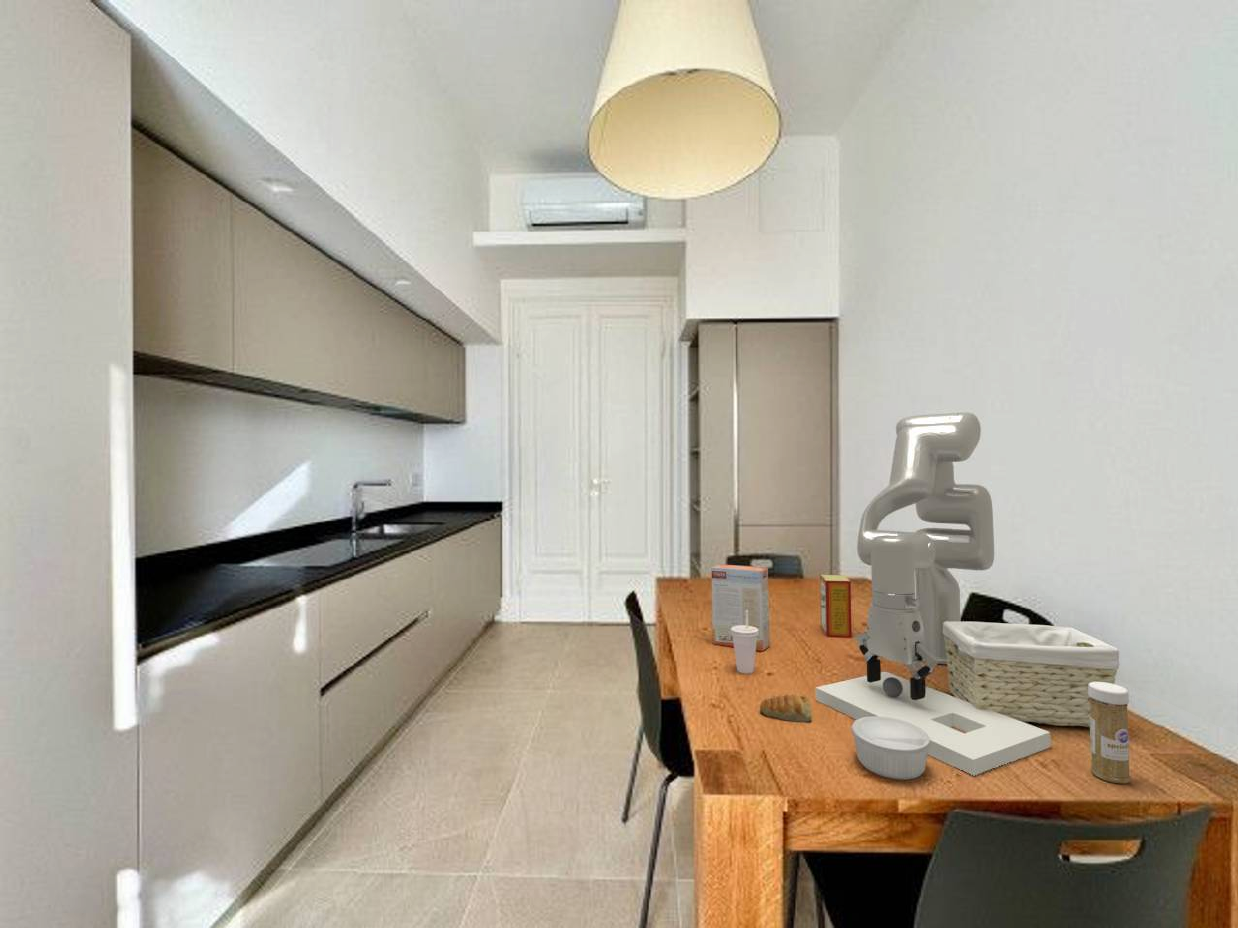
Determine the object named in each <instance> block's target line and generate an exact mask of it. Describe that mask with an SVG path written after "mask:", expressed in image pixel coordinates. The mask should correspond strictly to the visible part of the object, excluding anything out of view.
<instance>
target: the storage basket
mask: <svg viewBox="0 0 1238 928" xmlns="http://www.w3.org/2000/svg"><path fill="white" fill-rule="evenodd" d="M943 634H944V635H945V636H944V640H945V643H946V646H945V648H946V653H947V663H948V665H947V671H948V672H947V673H948V675H947V676H948V684H949V685H948V688H949V691H950V693H951V695H953V697H956V698H959V699H961V700H964V701H967V702H969V703H972V704H973V705H974V706H975V708H977V709H985V710H991V711H994V712H997V713H999V714H1002V715H1005V716H1008V717H1010V718H1013V719H1016V720H1018V721H1021V722H1024V723H1030V722H1031V723H1037V724H1046V725H1049V726H1059V727H1060V726H1061V727H1063V726H1065V727H1066V726H1071V727H1075V726H1078V727H1079V726H1080V727H1085V728H1090V699H1089V697H1090V696H1089V695H1088V685H1089V683H1091V682H1106V683H1111V684H1115V683H1116V675H1117V672H1118V669H1119V668H1120V651H1119V649H1118V648H1117V647H1115V646H1114V645H1113V646H1112V645H1110V644H1108V643H1106V642H1104V641H1102V640H1100V639H1098V638H1096V637H1094V636H1091V635H1089V634H1086V633H1085V632H1081V631H1080V630H1078V629H1076V628H1073V627H1070V626H1069V627H1064V626H1063V627H1062V626H1054V625H1045V624H1031V623H1030V624H1029V623H1028V624H1027V623H1007V622H1006V623H1002V622H1001V623H1000V622H985V621H967V620H966V621H960V622H956V621H953V622H949V621H946V622H944V623H943Z"/></svg>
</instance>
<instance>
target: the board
mask: <svg viewBox="0 0 1238 928" xmlns="http://www.w3.org/2000/svg"><path fill="white" fill-rule="evenodd" d="M889 677H893V678H896V679H898V680H899V681H900V682H901V684H902V686H903V691H902V693H901V694H900V695H899V696H897V697H892V696H889V695H888V694H886V693H885V691H884V689H883V682H884V680H885V679H887V678H889ZM814 689H815V690H814V691H815V695H814V696H815V701H817V702H819V703H821V704H823V705H825V706H827V707H830V708H831V709H833V710H836V712H837V711H838V712H839V713H842V714H844V715H846V716H848V717H850V718H852V719H854V720H855V721H856V720H858V719H860V718H863V717H874V716H877V717H889V718H895V719H899V720H902V721H906V722H908V723H911V724H913V725H915V726H917V727H919V728H921V729H922V730H923V731H925V732H926V733H927V735H928V736H929V738H930V747H929V749H928V754H927V756H930V757H933V758H935V759H937V760H939V761H941V762H943V763H945V764H947V765H949V766H951V767H953V768H955V767H956V768H955V769H957V768H958V769H957V770H959V769H960V770H959V771H961V770H963V771H965V772H967V773H969V774H971V775H970V776H972V775H973V776H972V777H975V775H976V776H978V774H979V775H981V774H983V773H982V772H984V771H987V770H989V771H991V770H990V769H992V768H995V767H997V768H1000V767H1002V766H1001V765H1003V766H1005V765H1008V764H1010V763H1009V762H1011V763H1013V762H1015V761H1018V759H1019V760H1021V759H1024V758H1027V757H1028V756H1029V757H1030V756H1032V755H1033V754H1034V755H1035V754H1037V753H1039V752H1042V751H1045V750H1048V749H1050V748H1051V745H1052V744H1051V731H1048V730H1046V729H1043V728H1040V727H1037V726H1034V725H1032V724H1029V723H1028V722H1021V721H1018V720H1016V719H1013V718H1010V717H1008V716H1005V715H1002V714H999V713H997V712H994V711H991V710H985V709H977V708H975V706H974V705H973V704H972V703H969V702H967V701H964V700H961V699H959V698H956V697H955V696H954V695H953V696H952V695H950V694H947V693H944V692H942V691H940V690H936V689H934V688H931V687H929V686H926V693H925V697H924V698H922V699H918V700H912V699H911V697H910V679H907V678H904V677H901V676H898V675H895V674H893V673H890V672H888V671H881V680H879V681H875V682H871V683H870V682H868V681H867V675H864V676H860V677H859V676H858V677H856V678H851V679H847V680H842V681H838V682H833V683H828V684H823V685H821V686H816V687H814ZM956 729H958V730H956ZM959 730H960V731H959ZM961 731H963V732H964V733H963V732H961ZM1007 763H1008V764H1007ZM1004 764H1005V765H1004ZM999 766H1000V767H999ZM995 769H996V768H995ZM992 770H993V769H992ZM963 771H962V772H963ZM965 772H964V773H965ZM987 772H988V771H987ZM967 773H966V774H967ZM980 773H981V774H980ZM984 773H985V772H984ZM969 774H968V775H969Z"/></svg>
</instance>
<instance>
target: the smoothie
mask: <svg viewBox="0 0 1238 928" xmlns="http://www.w3.org/2000/svg"><path fill="white" fill-rule="evenodd" d="M731 634H732V636H733V643H734V647H733V649H734V656H735V657H734V658H735V662H736V663H735V664H736V672H738V673H740V674H752V673H754V671H755V670H754V669H755V660H756V659H755V658H756V643H757V635H758V634H759V633H758V629H757V628H756V627H753V626H748V610H746V625H739V626H733V627H732V628H731Z"/></svg>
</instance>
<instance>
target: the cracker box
mask: <svg viewBox="0 0 1238 928" xmlns="http://www.w3.org/2000/svg"><path fill="white" fill-rule="evenodd" d="M768 569H769V568H768V567H763V566H762V567H761V566H759V567H758V566H751V565H750V566H748V565H734V564H717V565H713V566H711V617H712V622H711V623H712V628H711V629H712V644H713V645H719V646H725V647H732V648H734V643H733V636H732V634H731V628H732V627H733V626H739V625H746V610H748V626H753V627H756V628H757V629H758V633H759V634H758V635H757V643H756V650H757V651H758V652H764V651H765V650H767V649H768V648H769V647H770V645H771V644H770V610H769V609H770V606H769V604H770V601H769V598H770V597H769V570H768Z"/></svg>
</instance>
